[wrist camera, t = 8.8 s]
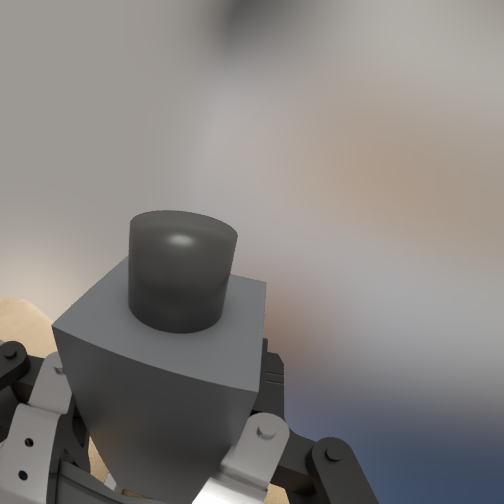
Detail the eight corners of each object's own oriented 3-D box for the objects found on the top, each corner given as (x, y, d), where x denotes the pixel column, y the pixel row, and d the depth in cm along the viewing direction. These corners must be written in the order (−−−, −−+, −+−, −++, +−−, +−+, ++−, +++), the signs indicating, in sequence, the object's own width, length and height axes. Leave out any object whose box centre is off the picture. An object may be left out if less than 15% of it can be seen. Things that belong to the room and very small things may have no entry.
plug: (118, 486, 9) (37, 238, 4) (143, 425, 13) (139, 192, 8) (206, 512, 9) (289, 303, 4) (219, 446, 13) (281, 222, 8)
